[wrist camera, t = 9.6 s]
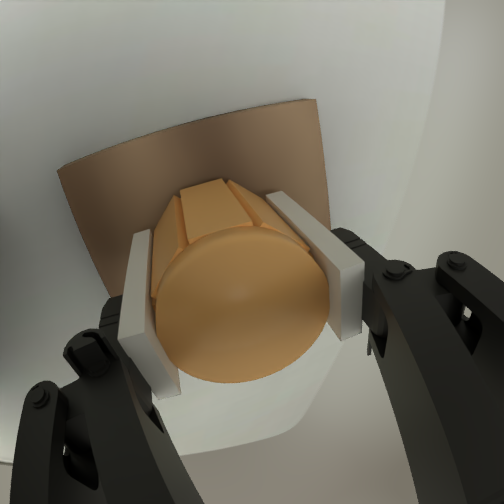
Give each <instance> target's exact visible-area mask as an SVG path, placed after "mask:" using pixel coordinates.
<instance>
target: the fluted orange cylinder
mask: <svg viewBox="0 0 504 504" xmlns="http://www.w3.org/2000/svg"><path fill="white" fill-rule="evenodd" d="M180 195H181V198H179V197H177V196H175V195H173V197H172V199H171V201H170V202H169V204H168V206H167V208H166V210H165V211H164V213H163V215H162V217H161V219H160V220H159V222H158V224H157V226H156V228H155V230H154V238H153V254H152V274H151V297H152V307H153V309H154V311H155V313H156V333H157V337H158V339H159V341H160V343H161V345H162V347H163V349H164V351H165V352H166V354H167V356H168V358H169V360H170V361H171V362H172V363H173V364H174V365H175V366H177V367H178V368H179V369H180V370H182V371H184V372H185V373H187V374H189V375H191V376H193V377H196V378H199V379H202V380H205V381H210V382H217V383H240V382H247V381H252V380H256V379H259V378H263V377H266V376H268V375H271V374H273V373H275V372H277V371H280V370H281V369H283V368H285V367H287V366H288V365H290V364H291V363H293V362H294V361H295V360H297V359H298V358H299V357H300V356H302V355H303V354H304V353H305V352H306V351H307V350H308V349H309V348H310V347H311V346H312V344H313V343H314V342H315V341H316V339H317V338H318V336H319V335H320V333H321V332H322V330H323V328H324V326H325V323H326V321H327V318H328V315H329V310H330V300H329V284H328V281H327V278H326V276H325V274H324V272H323V271H322V269H321V268H320V267H319V265H318V264H317V263H316V262H315V261H314V257H313V255H312V254H311V253H310V252H309V250H310V248H309V247H308V246H307V245H306V244H305V242H304V241H303V240H302V239H301V238H300V237H299V236H298V235H297V234H296V233H295V232H294V231H293V230H292V229H291V228H290V227H289V225H288V224H287V223H286V222H285V221H284V220H283V219H282V218H281V217H280V216H279V215H278V214H277V213H276V212H275V211H274V210H273V209H272V208H271V207H270V206H269V205H268V204H267V203H266V202H265V201H264V200H263V199H262V198H260V197H259V196H257V195H255V194H254V193H252V192H250V191H249V190H247V189H245V188H243V187H242V186H240V185H238V184H237V183H235V182H233V181H231V180H230V179H229V180H228V182H227V183H226V184H225V182H224V181H223V180H222V178H221V179H217V180H213V181H210V182H206V183H203V184H199V185H196V186H192V187H189V188H185V189H182V190H180Z"/></svg>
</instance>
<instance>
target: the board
mask: <svg viewBox="0 0 504 504" xmlns="http://www.w3.org/2000/svg"><path fill="white" fill-rule="evenodd" d="M57 173H58V176H59V179H60V181H61V184H62V187H63V190H64V193H65V195H66V198H67V201H68V203H69V206H70V208H71V211H72V214H73V216H74V219H75V221H76V223H77V226H78V228H79V231H80V233H81V235H82V238H83V240H84V242H85V245H86V247H87V249H88V251H89V254H90V256H91V258H92V260H93V262H94V264H95V266H96V269H97V271H98V273H99V275H100V277H101V279H102V281H103V283H104V285H105V287H106V289H107V291H108V293H109V295H110V297H111V298H112V297H116V296H119V295H122V294H123V292H124V285H125V279H126V273H127V267H128V261H129V256H130V250H131V245H132V240H133V235H134V234H135V233H138V232H141V231H144V230H147V229H150V230H151V233H152V236H153V238H154V230H155V228H156V226H157V224H158V222H159V220H160V219H161V217H162V215H163V213H164V211H165V210H166V208H167V206H168V204H169V202H170V201H171V199H172V197H173V195H175V196H177V197H179V198H181V195H180V190H182V189H185V188H189V187H192V186H196V185H199V184H203V183H206V182H210V181H213V180H217V179H221V178H222V180H223V181H224V182H225V184H226V183H227V182H228V180H229V179H230V180H231V181H233V182H235V183H237V184H238V185H240V186H242V187H243V188H245V189H247V190H249V191H250V192H252V193H254V194H255V195H257V196H259V197H260V198H262V199H263V200H264V201H265V202H266V203H267V200H266V195H267V194H271V193H275V192H279V191H283V192H284V193H285V194H286V195H288V196H289V197H290V198H291V199H292V200H294V201H295V202H296V203H297V204H299V205H300V206H301V207H302V208H303V209H305V210H306V211H307V212H308V213H309V214H310V215H312V216H313V217H314V218H315V219H316V220H318V221H319V222H320V223H321V224H322V225H323V226H325V227H326V228H327V229H328V230H329V231H330V230H331V224H330V212H329V200H328V190H327V180H326V171H325V162H324V154H323V146H322V138H321V130H320V123H319V116H318V110H317V103H316V99H301V100H294V101H288V102H281V103H275V104H270V105H264V106H259V107H254V108H249V109H244V110H239V111H234V112H230V113H225V114H221V115H216V116H212V117H208V118H204V119H200V120H196V121H192V122H189V123H185V124H181V125H178V126H174V127H171V128H167V129H164V130H160V131H157V132H154V133H151V134H147V135H144V136H141V137H138V138H135V139H132V140H129V141H126V142H123V143H120V144H117V145H115V146H112V147H109V148H106V149H104V150H101V151H98V152H96V153H93V154H91V155H88V156H85V157H83V158H80V159H78V160H76V161H73V162H71V163H68V164H66V165H64V166H63V167H61V168H60V169H58V170H57Z"/></svg>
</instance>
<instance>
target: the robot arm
mask: <svg viewBox="0 0 504 504" xmlns="http://www.w3.org/2000/svg"><path fill="white" fill-rule="evenodd" d="M266 200H267V204H268V205H269V206H270V207H271V208H272V209H273V210H274V211H275V212H276V213H277V214H278V215H279V216H280V217H281V218H282V219H283V220H284V221H285V222H286V223H287V224H288V225H289V227H290V228H291V229H292V230H293V231H294V232H295V233H296V234H297V235H298V236H299V237H300V238H301V239H302V240H303V241H304V242H305V244H306V245H307V246H308V247H309V248H310V250H309V252H310V253H311V254H312V255H313V257H314V261H315V262H316V263H317V264H318V265H319V267H320V268H321V269H322V271H323V272H324V274H325V276H326V278H327V281H328V284H329V300H330V310H329V315H328V318H327V322H328V324H329V325H330V327H331V328H332V329H333V331H334V332H335V334H336V335H337V337H338V338H339V339H340V341H343V340H346V339H348V338H350V337H353V336H355V335H358V334H360V333H362V320H363V321H364V322H365V323H366V324H367V326H368V327H369V336H368V346H367V355H371V349H373V352H374V355H375V357H376V360H377V363H378V366H379V369H380V371H381V375H382V377H383V380H384V383H385V386H386V389H387V392H388V395H389V398H390V401H391V405H392V408H393V411H394V414H395V417H396V421H397V424H398V427H399V430H400V434H401V437H402V440H403V444H404V448H405V451H406V455H407V458H408V462H409V466H410V469H411V473H412V477H413V481H414V485H415V489H416V493H417V498H418V502H419V504H504V282H503V281H502V280H500V279H499V278H498V277H497V276H495V275H494V274H493V273H491V272H490V271H489V270H487V269H486V268H485V267H483V266H482V265H481V264H479V263H478V262H476V261H475V260H474V259H472V258H471V257H470V256H468V255H466V254H464V253H460V252H458V251H448V252H444V253H443V254H441V255H439V257H438V259H437V264H436V267H435V268H428V269H422V270H416V269H415V268H414V267H413V266H412V265H411V264H409V263H406V262H404V261H400V260H387V259H385V258H384V257H383V256H382V255H380V254H379V253H378V252H377V251H376V250H374V249H373V248H372V247H371V246H369V245H368V244H366V242H365V241H363V240H362V239H360V237H358V236H357V235H356V234H354V233H353V232H352V231H349V230H346V229H343V228H337V229H333V230H330V231H329V230H328V229H327V228H326V227H325V226H323V225H322V224H321V223H320V222H319V221H318V220H316V219H315V218H314V217H313V216H312V215H310V214H309V213H308V212H307V211H306V210H305V209H303V208H302V207H301V206H300V205H299V204H297V203H296V202H295V201H294V200H292V199H291V198H290V197H289V196H288V195H286V194H285V193H284V192H283V191H279V192H275V193H271V194H267V195H266ZM152 254H153V236H152V233H151V230H150V229H147V230H144V231H141V232H138V233H135V234H134V235H133V240H132V245H131V250H130V256H129V261H128V267H127V273H126V279H125V285H124V292H123V294H122V295H119V296H116V297H112V298H109V299H108V301H107V302H106V304H105V305H104V307H103V308H102V313H101V318H100V319H101V320H100V323H99V329H87V330H84V331H82V332H80V333H78V334H77V335H75V336H74V337H73V338H72V339H71V340H70V341H69V342H68V343H67V345H66V347H65V348H64V352H63V356H64V358H65V359H66V360H67V362H68V363H69V364H70V366H71V367H72V368H73V369H74V371H75V372H76V373H77V374H78V376H79V379H78V380H76V381H74V382H72V383H70V384H68V385H66V386H64V387H63V388H61V389H59V388H58V386H57V385H56V384H55V383H53V382H51V381H42V382H40V383H37V384H36V385H35V386H33V387H32V388H31V389H30V391H29V392H28V393H27V396H26V398H25V401H24V405H23V409H22V414H21V419H20V424H19V429H18V435H17V441H16V447H15V454H14V461H13V469H12V479H11V490H10V504H204V502H203V500H202V499H201V497H200V495H199V493H198V491H197V490H196V488H195V486H194V484H193V482H192V480H191V479H190V477H189V475H188V473H187V471H186V469H185V467H184V465H183V463H182V461H181V460H180V457H179V455H178V453H177V451H176V449H175V447H174V445H173V443H172V440H171V438H170V436H169V434H168V432H167V430H166V427H165V425H164V423H163V421H162V418H161V416H160V414H159V411H158V410H157V408H156V407H155V406H154V404H153V403H152V393H151V390H152V392H153V393H154V395H155V396H156V397H157V399H158V400H160V399H164V398H169V397H173V396H177V395H181V389H180V382H179V374H178V367H177V366H175V365H174V364H173V363H172V362H171V361H170V360H169V358H168V356H167V354H166V352H165V351H164V349H163V347H162V345H161V343H160V341H159V339H158V337H157V333H156V313H155V311H154V309H153V307H152V297H151V274H152ZM465 307H467V308H469V309H470V310H471V311H472V313H471V316H470V318H468V317H466V316H465V315H464V310H465ZM64 446H65V453H64V455H63V450H64Z"/></svg>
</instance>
